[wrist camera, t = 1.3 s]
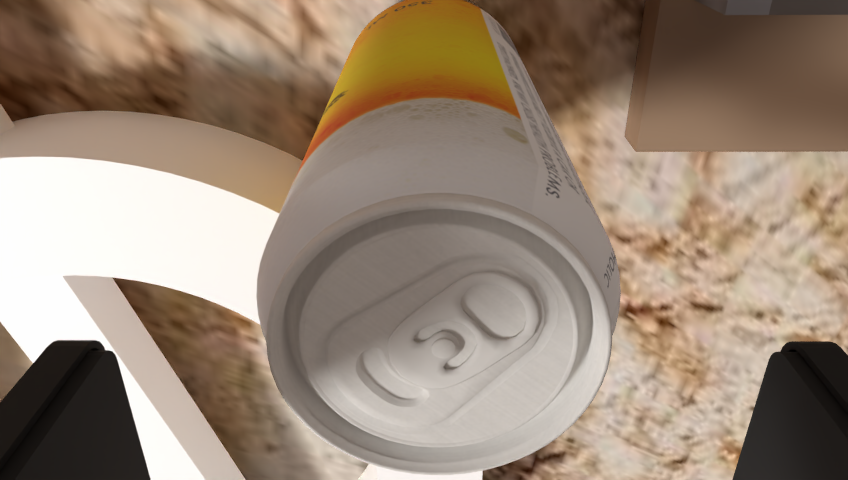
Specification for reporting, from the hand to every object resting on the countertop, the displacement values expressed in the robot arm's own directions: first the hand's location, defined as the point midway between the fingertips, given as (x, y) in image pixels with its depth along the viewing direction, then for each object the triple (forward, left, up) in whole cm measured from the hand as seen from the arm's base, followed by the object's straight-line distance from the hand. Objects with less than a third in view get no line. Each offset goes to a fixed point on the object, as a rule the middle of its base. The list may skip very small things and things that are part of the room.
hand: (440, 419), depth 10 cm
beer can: (-1, 0, -16) cm, 16 cm away
